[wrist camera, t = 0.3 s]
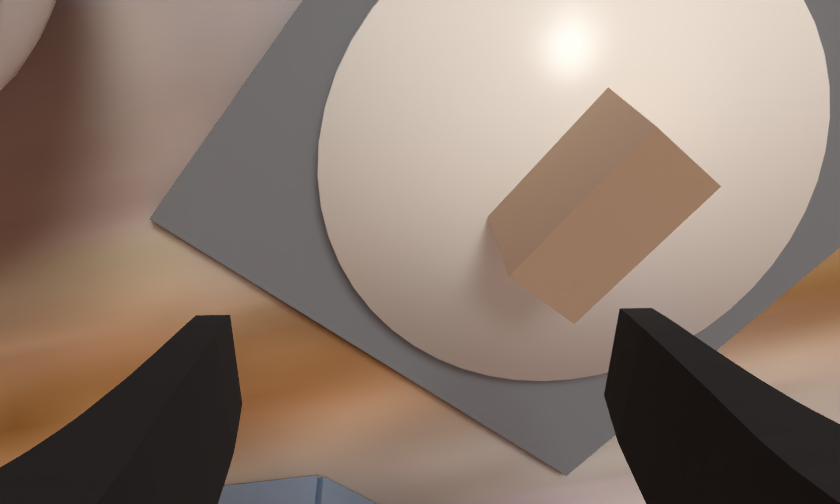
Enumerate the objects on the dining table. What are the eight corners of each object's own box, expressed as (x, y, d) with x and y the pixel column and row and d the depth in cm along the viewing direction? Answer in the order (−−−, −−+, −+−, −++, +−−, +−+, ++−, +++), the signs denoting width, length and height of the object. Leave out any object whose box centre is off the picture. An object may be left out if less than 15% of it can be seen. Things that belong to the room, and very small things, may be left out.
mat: (974, 121, 21) (984, 125, 20) (563, 468, 27) (566, 475, 26) (569, -379, 15) (573, -386, 14) (153, 213, 21) (149, 219, 20)
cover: (914, 132, 20) (1035, 184, 17) (566, 434, 25) (599, 526, 22) (572, -263, 15) (636, -314, 12) (219, 210, 20) (185, 281, 17)
